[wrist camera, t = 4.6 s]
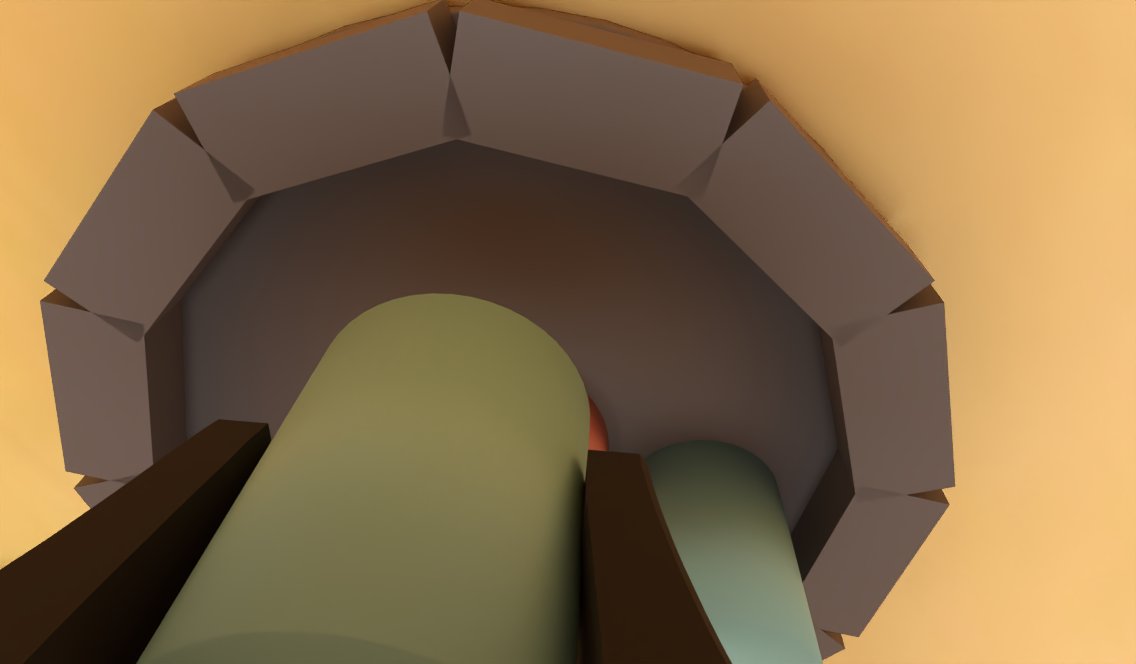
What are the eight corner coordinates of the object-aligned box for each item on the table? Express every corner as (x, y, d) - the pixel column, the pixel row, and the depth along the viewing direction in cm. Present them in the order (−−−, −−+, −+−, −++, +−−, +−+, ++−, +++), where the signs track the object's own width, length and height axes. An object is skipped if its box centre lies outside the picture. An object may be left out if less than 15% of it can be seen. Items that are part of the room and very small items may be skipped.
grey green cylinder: (477, 551, 12) (398, 927, 8) (266, 415, 11) (38, 772, 7) (648, 411, 10) (666, 787, 6) (422, 236, 9) (252, 551, 5)
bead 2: (789, 542, 19) (837, 734, 15) (642, 566, 20) (647, 755, 16) (765, 426, 17) (811, 607, 13) (603, 456, 18) (598, 638, 14)
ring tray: (933, 611, 22) (967, 693, 20) (332, 694, 25) (305, 770, 23) (866, -147, 12) (916, -150, 10) (-58, 158, 16) (-161, 202, 14)
